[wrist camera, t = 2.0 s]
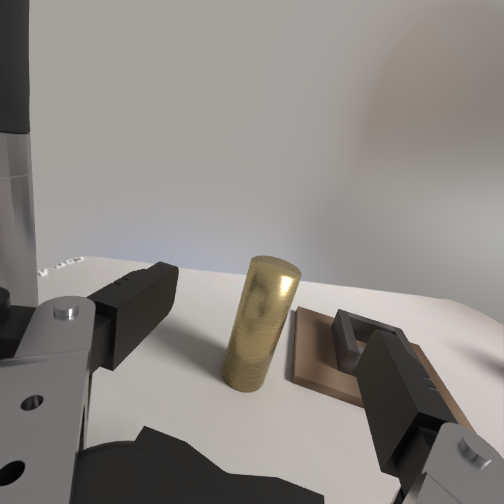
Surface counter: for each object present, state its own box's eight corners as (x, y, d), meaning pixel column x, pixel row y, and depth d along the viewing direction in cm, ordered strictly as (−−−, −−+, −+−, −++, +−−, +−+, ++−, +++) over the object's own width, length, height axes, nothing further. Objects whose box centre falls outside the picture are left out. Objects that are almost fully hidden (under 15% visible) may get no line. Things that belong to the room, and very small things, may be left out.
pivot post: (215, 382, 24) (245, 268, 20) (228, 351, 28) (256, 251, 24) (260, 399, 23) (301, 285, 19) (267, 364, 28) (301, 265, 23)
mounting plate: (291, 382, 26) (304, 351, 25) (296, 311, 39) (304, 289, 38) (475, 447, 24) (499, 418, 23) (415, 350, 37) (428, 328, 36)
